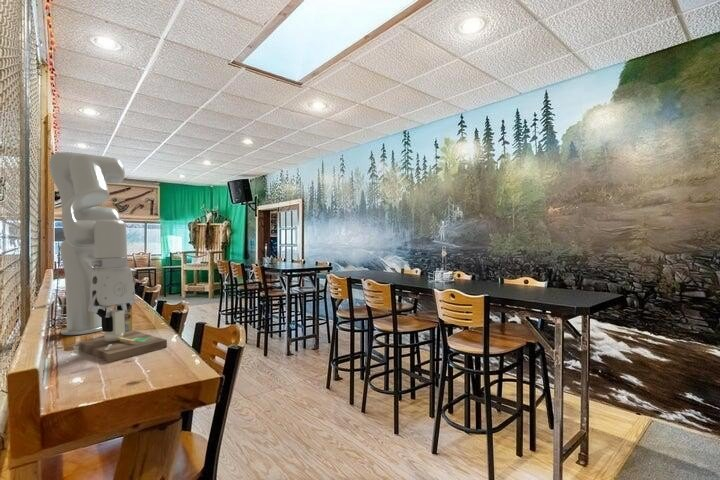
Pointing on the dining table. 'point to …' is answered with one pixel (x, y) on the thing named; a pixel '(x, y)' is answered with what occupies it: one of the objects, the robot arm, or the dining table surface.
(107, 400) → the dining table surface
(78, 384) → the dining table surface
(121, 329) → the white block on stick
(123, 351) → the dial board
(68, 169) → the robot arm
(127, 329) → the candy box
